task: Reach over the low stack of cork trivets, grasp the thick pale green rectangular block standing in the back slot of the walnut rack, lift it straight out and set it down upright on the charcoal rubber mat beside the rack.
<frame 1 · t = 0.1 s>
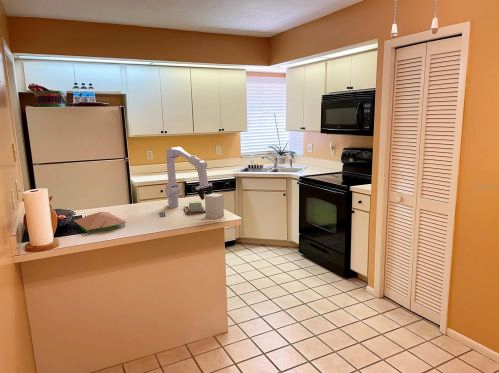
hand: (206, 198, 248), 11 cm above the counter, tool pointing down, fingers open, 7 cm apart
green-backed flat pad: (99, 226, 226), on the counter
charcoal mat: (170, 214, 250), on the counter
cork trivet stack: (193, 209, 258), point 1 cm above the counter, touching walnut rack
pale green rectangular block: (195, 212, 251), point 1 cm above the counter, touching walnut rack
walnut rack: (194, 211, 255), on the counter
supplement box: (214, 217, 242), on the counter
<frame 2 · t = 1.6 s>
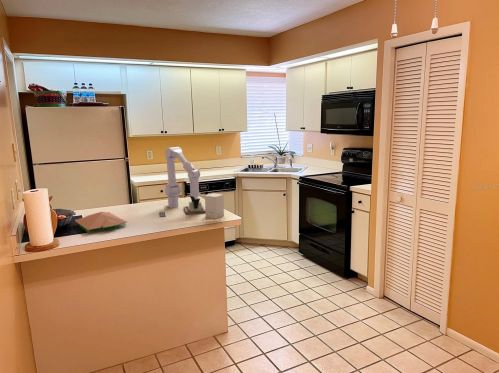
hand: (195, 207, 251), 4 cm above the counter, tool pointing down, fingers open, 7 cm apart
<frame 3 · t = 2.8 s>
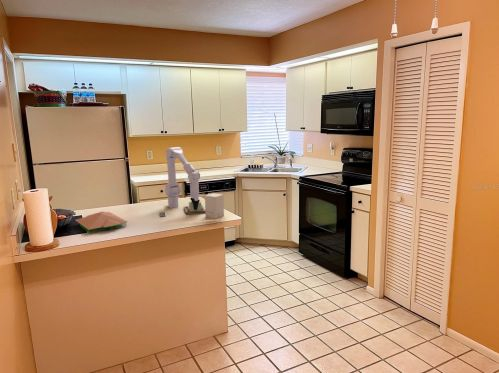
hand: (195, 208, 251), 3 cm above the counter, tool pointing down, fingers closed on pale green rectangular block, 4 cm apart
pale green rectangular block: (195, 212, 251), point 1 cm above the counter, touching gripper, walnut rack
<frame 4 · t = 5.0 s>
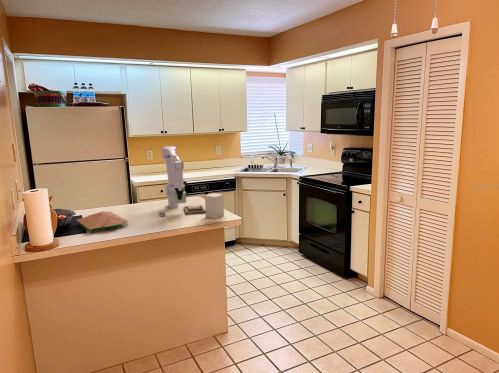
hand: (179, 199, 248), 10 cm above the counter, tool pointing down, fingers closed on pale green rectangular block, 4 cm apart
pale green rectangular block: (179, 202, 249), point 8 cm above the counter, touching gripper
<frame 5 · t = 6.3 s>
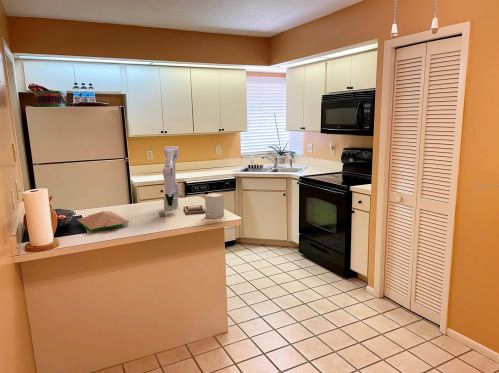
hand: (169, 204, 249), 7 cm above the counter, tool pointing down, fingers closed on pale green rectangular block, 4 cm apart
pale green rectangular block: (170, 208, 249), point 4 cm above the counter, touching gripper
when the fingers open (5 cm above the counter, at t = 7.4 s): pale green rectangular block drops 2 cm, resting on charcoal mat.
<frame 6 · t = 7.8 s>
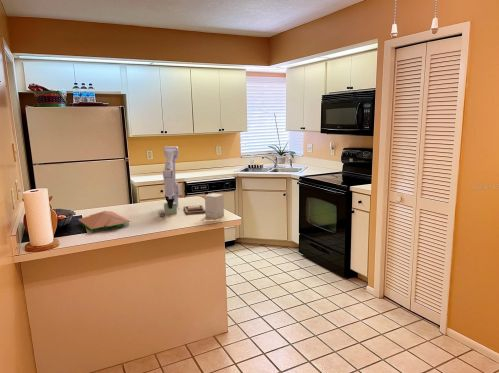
hand: (170, 207, 249), 5 cm above the counter, tool pointing down, fingers open, 7 cm apart
pale green rectangular block: (170, 213, 250), resting on charcoal mat
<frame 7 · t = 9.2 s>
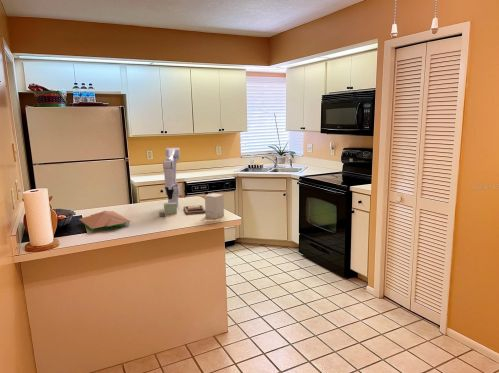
hand: (169, 198, 251), 10 cm above the counter, tool pointing down, fingers open, 7 cm apart
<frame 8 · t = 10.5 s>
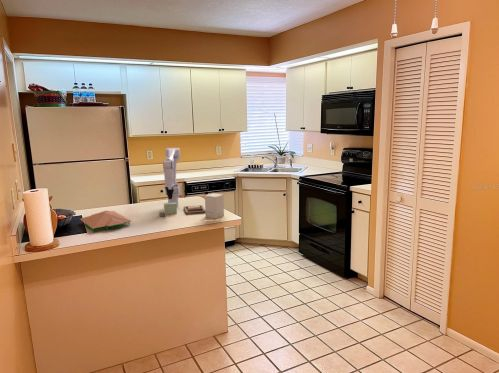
hand: (169, 198, 251), 10 cm above the counter, tool pointing down, fingers open, 7 cm apart
at the end: pale green rectangular block inside the target area (0.2 cm from its centre), point 0.5 cm above the counter; pale green rectangular block tilted 0°; the gripper is holding nothing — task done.
